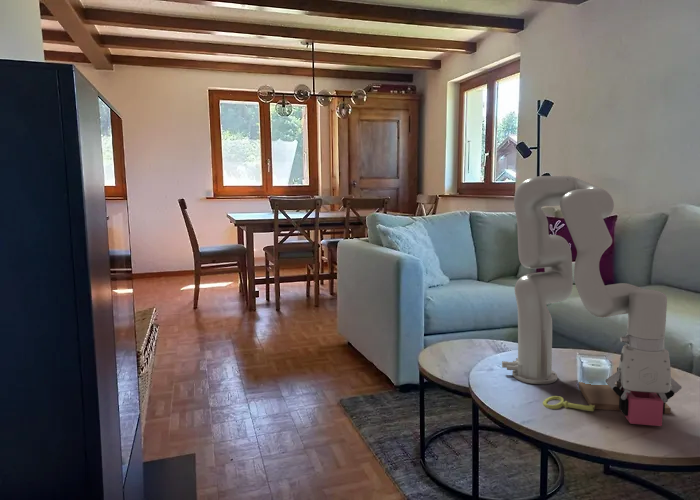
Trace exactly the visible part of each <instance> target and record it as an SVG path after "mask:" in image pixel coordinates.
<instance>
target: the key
mask: <svg viewBox="0 0 700 500" xmlns="http://www.w3.org/2000/svg"><path fill="white" fill-rule="evenodd" d="M554 400H556V401H557V400H558V401H559V402H558V403H555V404H548V403H549V402H550V401H554ZM542 405H543V407H545V408H546V409H550V410H558V409H561V408H562V407H564V408H565V409H568V408H570V409H576V410H581V411H589V412H594V410H595V409H594V407H595V405H589V404H588V405H585V404H580V403H572V402H569V401H568V400H565V399H564V397H563V396H560V395H559V396H558V395H552V396H549V397H546V398H545V399H544V400H543V401H542Z"/></svg>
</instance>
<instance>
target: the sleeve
mask: <svg viewBox="0 0 700 500" xmlns="http://www.w3.org/2000/svg"><path fill="white" fill-rule="evenodd" d="M627 399H628V401H629V403H628V415H627V416H624V417H625V418H626V420H627V421H628V422H629V424H630V425H631V424H633V425H644V426H656V427H657V426H658V427H662V426H663V401H662V399H661V398H660V397H659V396H658V395H657V394H656V393H649V392H635V391H631V392H630V393H629V395H628V397H627Z"/></svg>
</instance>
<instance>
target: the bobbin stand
mask: <svg viewBox="0 0 700 500" xmlns="http://www.w3.org/2000/svg"><path fill="white" fill-rule="evenodd" d="M618 368H619V366H618V367H617V368H616V372H618ZM615 385H616V386H617V387H618V388H619V389H620V387H621V383H620V382H619V381H616V383H615ZM578 389H579V390H580V392H581V394H582V396H583V397H584V399H585V402H586V403H587V404H588V406H589V405H595V407H594V410H603V411H604V410H605V411H617V412H618V411H619V412H622V411H621V410H620V409H619V395H618V394H616V393H615V392H614V390H613V389H612V388H611V387H610V386H609V385H591V384H585V383H583V381H578ZM671 410H672V409H671V407H670V406H669V405H668V404H667V402H666V403H665V413H664V415H671Z"/></svg>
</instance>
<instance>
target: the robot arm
mask: <svg viewBox="0 0 700 500" xmlns="http://www.w3.org/2000/svg"><path fill="white" fill-rule="evenodd" d="M555 206H559V208H560V211H561V214H562V216H563V219H564V222H565V224H566V226H567V229H568V231H569V233H570V236H571V238H572V241H573V244H574V247H575V249H576V258H575V261H574V269H573V257H572V255H573V254H572V249H571V246H570V244H569V242H568V241H567V239H565V238H564V237H562V236H561V235H559V234H558V235H557V234H549V233H550V231H549V221H548V218H547V215H546V213H545V211H544V210H543V209H542V208H543V207H555ZM614 206H615V203H614V199H613V197H612V195H611V194H610V192H608V191H607V190H606V189H604V188H602V187H599V186H597V185H595V184H592V183H590V182H587V181H586V180H585V181H584V180H582V179H580V178H578V177H577V178H576V177H574V176H570V175H539V176H534V177H530V178H527V179H525V180H524V181H522V182H521V183H520V184H519V186H517V188H516V191H515V193H514V198H513V207H514V211H515V217H516V223H517V225H516V226H517V227H516V228H517V229H516V231H517V249H518V251H517V252H518V253H517V254H518V260H519V262H520V264H521V266H522V267H523V268H525V269H529V270H530V269H532V270H534V269H544V271H540V272H532V273H527V274H525V275H522V276H521V277H520V278H518V279H517V281H516V282H515V285H514V296H515V301H516V306H517V358H515V360H512V361H504V360H503V361H501V368H505V369H506V371H512V376H513V377H514V378H515V379H516V380H518V381H520V382H523V383H528V384H532V385H533V384H534V385H548V384H553V383H555V382H556V381H557V380H558V373H556V372H555V371H554V370H552V369H553V367H552V366H553V364H552V363H553V362H552V360H553V319H552V315H551V312H550V310H549V308H548V306H547V305H549V304H554V303H560V302H563V301H565V300H567V299H569V298H570V296H571V294H572V291H573V284H575V287H576V290H577V293H578V295H579V298H580V300H581V302H582V304H583V306H584V308H585V309H586V310H587V312H588V313H589V314H590V315H592V316H594V317H596V318H600V319H601V318H610V317H615V316H618V315H619V316H620V315H627V327H626V332H625V335H624V336H620V337H619V340H620V343H624V345H623V347H622V349H621V354H620V357H619V363H618V367H619V368H618V367H617V368H618V372H617V371H616V372H615V373H613V374H611V376H609V377H608V378H606V379H605V383H607V384H608V385H609V386H610V387H611V388H612V389H613V390H614V392H615V393H616V394H618V395H619V409H620V410H621V411H620V412H622V414H623V416H624V417H625V416H627V415H628V403H629V401H628V399H627V397H628V395H629V393H630V392H631V391H635V392H649V393H656V394H657V395H658V396H659V397H660V398H661V399H662V401H663V414H664V413H665V403H666V404H667V403H668V402H669V399H671V398H673V396H675V394H676V393H678V392H679V391H680V390H682V388H683V386H682V385H680V384H679V383H678V382H677V381H676V380H675V379H674V378H673V377H672V371H671V361H670V352H669V350H668V349H666V348H665V339H666V338H665V337H666V323H667V308H668V297H667V295H666V294H665V293H664V292H662V291H660V290H657V289H649V288H642V287H639V286H637V285H633V284H630V283H626V282H625V283H624V282H623V283H622V282H620V283H613V284H607V285H605V282H604V280H603V279H602V275H601V272H600V261H601V258H602V255H603V254H604V253H605V251H607V250H608V248H609V247H611V245H612V244H613V238H612V236H611V234H610V232H609V229H608V226H607V224H606V222H605V220H604V219H607V218H609V216H610V215H611V214H612V212H613V210H614ZM573 279H574V281H573ZM617 381H619V382H620V383H621V387H620V389H619V388H618V387H617V386H616V385H615V384H616V383H617ZM664 415H665V414H664Z"/></svg>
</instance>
